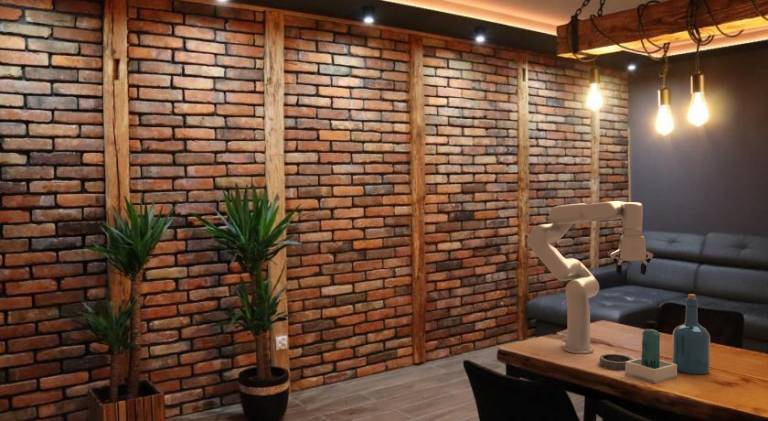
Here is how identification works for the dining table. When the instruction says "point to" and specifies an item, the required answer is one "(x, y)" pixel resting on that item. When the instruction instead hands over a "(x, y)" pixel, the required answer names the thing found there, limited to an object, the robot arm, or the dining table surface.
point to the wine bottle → (691, 342)
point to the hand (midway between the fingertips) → (631, 274)
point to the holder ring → (614, 361)
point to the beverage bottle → (650, 346)
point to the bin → (651, 371)
